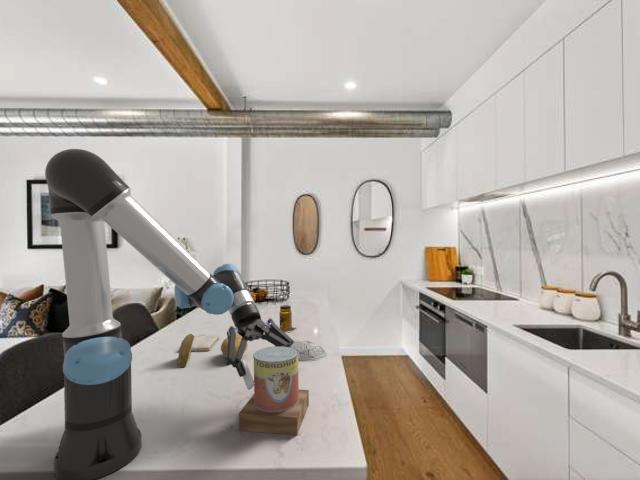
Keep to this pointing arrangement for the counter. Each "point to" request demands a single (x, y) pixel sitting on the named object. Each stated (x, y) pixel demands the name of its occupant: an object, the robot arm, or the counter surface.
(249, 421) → the walnut base
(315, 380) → the counter surface
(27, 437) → the counter surface
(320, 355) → the silver oval dome
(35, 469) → the counter surface
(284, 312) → the condiment
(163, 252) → the robot arm
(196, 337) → the washcloth
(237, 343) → the potato
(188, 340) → the rock
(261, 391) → the canned food
